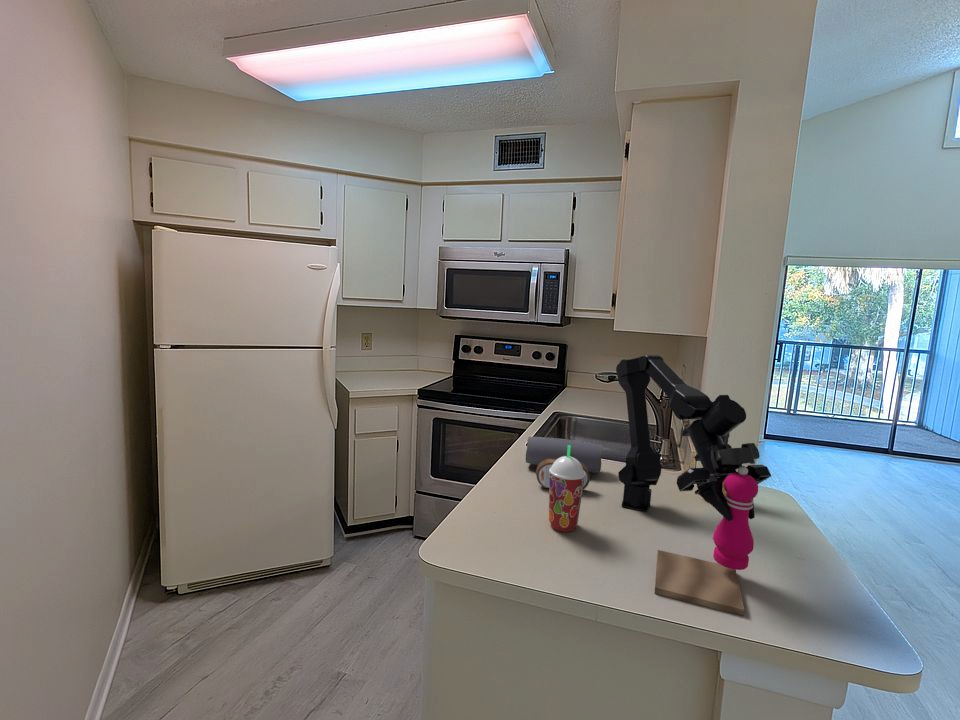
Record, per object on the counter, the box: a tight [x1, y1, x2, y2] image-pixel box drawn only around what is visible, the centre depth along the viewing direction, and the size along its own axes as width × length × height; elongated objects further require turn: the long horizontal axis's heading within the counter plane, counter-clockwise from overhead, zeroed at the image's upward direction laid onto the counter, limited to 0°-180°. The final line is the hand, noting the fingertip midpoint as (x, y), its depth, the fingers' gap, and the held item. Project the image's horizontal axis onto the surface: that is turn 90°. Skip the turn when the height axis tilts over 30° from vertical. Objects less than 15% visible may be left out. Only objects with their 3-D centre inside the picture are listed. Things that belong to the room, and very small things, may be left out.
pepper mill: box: [712, 465, 759, 571], centre depth 98 cm, size 7×7×20 cm
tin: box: [535, 459, 591, 490], centre depth 140 cm, size 15×3×8 cm, turn 84°
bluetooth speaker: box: [525, 436, 603, 473], centre depth 154 cm, size 23×9×10 cm, turn 77°
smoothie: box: [548, 445, 585, 533], centre depth 117 cm, size 8×8×20 cm
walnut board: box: [654, 549, 745, 617], centre depth 98 cm, size 15×15×1 cm
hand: (741, 519), depth 96 cm, fingers closed on pepper mill, 5 cm apart
